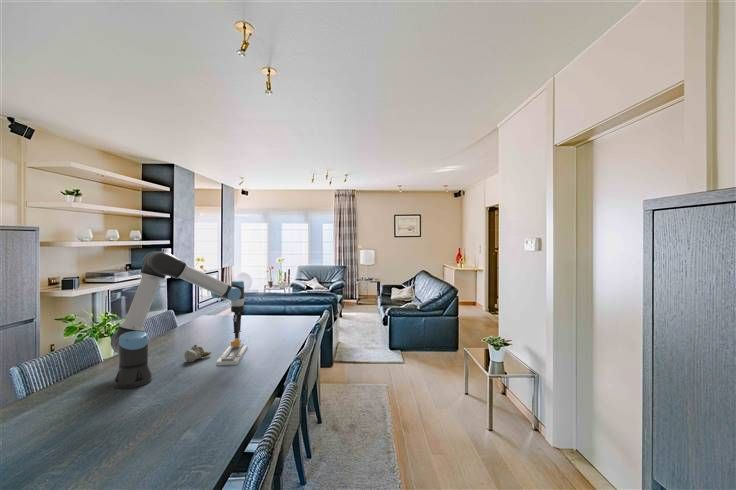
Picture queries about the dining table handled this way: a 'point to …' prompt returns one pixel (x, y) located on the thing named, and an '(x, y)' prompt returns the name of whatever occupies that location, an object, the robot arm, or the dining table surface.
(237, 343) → the fader
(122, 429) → the dining table surface
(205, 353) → the ceramic sculpture
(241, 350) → the console
